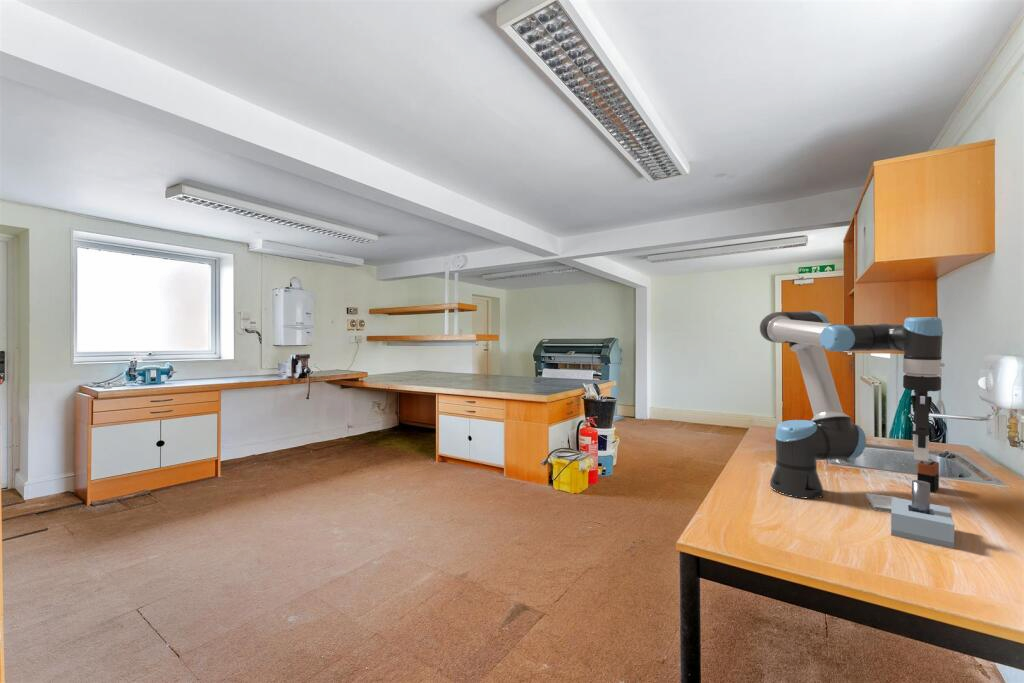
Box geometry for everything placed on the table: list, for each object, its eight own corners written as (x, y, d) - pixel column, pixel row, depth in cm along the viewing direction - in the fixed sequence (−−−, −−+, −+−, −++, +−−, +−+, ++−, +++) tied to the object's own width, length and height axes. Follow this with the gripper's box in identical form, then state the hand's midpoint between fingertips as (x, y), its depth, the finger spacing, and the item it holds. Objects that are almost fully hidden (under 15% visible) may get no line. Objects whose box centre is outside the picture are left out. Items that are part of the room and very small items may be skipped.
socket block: (891, 535, 120) (891, 512, 120) (891, 517, 131) (891, 497, 131) (954, 548, 112) (954, 524, 112) (949, 529, 123) (949, 507, 123)
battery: (916, 489, 152) (917, 460, 152) (922, 485, 156) (922, 456, 156) (934, 493, 149) (934, 463, 148) (939, 488, 153) (939, 459, 152)
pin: (911, 527, 121) (912, 482, 121) (911, 522, 124) (911, 479, 124) (930, 530, 119) (930, 485, 119) (929, 525, 122) (929, 481, 121)
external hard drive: (874, 511, 137) (865, 497, 147) (909, 516, 133) (897, 501, 144) (874, 506, 137) (865, 492, 147) (909, 511, 133) (898, 496, 143)
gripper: (944, 381, 108) (942, 468, 109) (938, 371, 127) (936, 445, 128) (903, 379, 113) (901, 462, 114) (903, 369, 132) (901, 441, 133)
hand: (920, 453), depth 121 cm, fingers open, 13 cm apart
